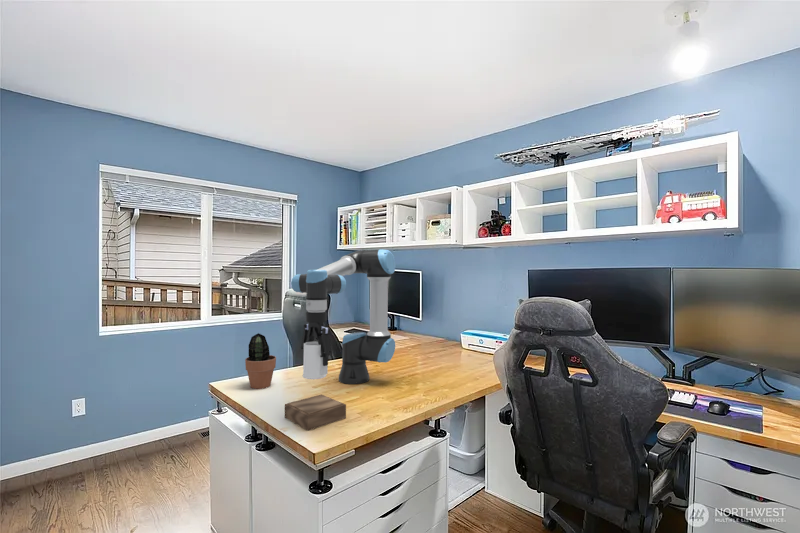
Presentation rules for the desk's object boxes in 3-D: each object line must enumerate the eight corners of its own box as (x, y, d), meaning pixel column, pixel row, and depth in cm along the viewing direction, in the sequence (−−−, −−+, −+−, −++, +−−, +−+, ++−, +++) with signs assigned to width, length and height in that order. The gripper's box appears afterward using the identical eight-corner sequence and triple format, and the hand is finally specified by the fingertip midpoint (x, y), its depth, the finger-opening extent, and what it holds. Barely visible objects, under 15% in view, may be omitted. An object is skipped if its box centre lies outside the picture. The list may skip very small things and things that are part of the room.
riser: (284, 417, 142) (284, 403, 142) (321, 406, 153) (321, 393, 153) (307, 430, 130) (308, 414, 130) (345, 418, 142) (346, 403, 142)
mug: (305, 370, 148) (306, 339, 148) (328, 370, 148) (328, 339, 149) (300, 379, 136) (301, 345, 136) (325, 379, 137) (325, 345, 137)
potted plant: (281, 386, 180) (281, 332, 180) (252, 392, 170) (253, 336, 170) (267, 380, 189) (268, 329, 190) (239, 386, 180) (240, 332, 180)
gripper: (291, 309, 147) (291, 367, 147) (325, 314, 132) (324, 379, 131) (308, 308, 153) (308, 364, 152) (342, 312, 137) (342, 375, 137)
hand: (315, 371), depth 142 cm, fingers closed on mug, 10 cm apart
